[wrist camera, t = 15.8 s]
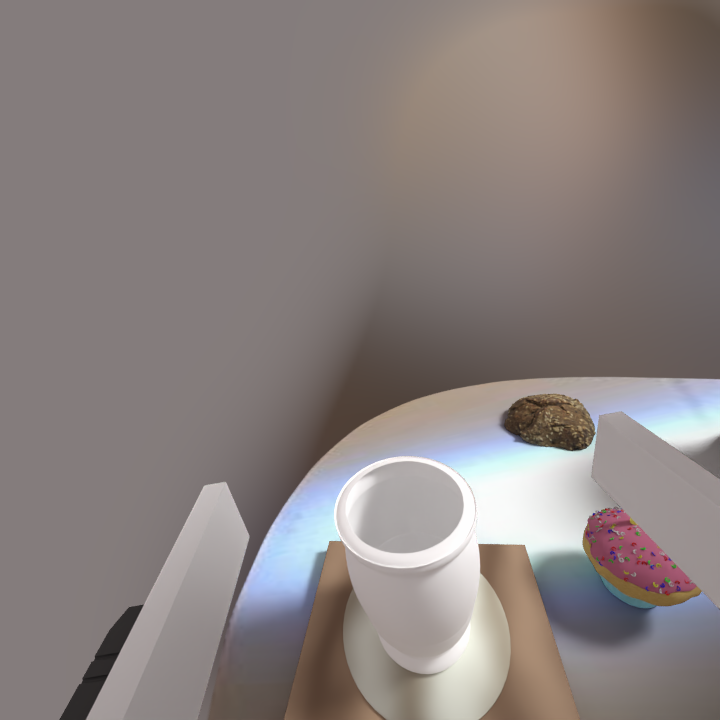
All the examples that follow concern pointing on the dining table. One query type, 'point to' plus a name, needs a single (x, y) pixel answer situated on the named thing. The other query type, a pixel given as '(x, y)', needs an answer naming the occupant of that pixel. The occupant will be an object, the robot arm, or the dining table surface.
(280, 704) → the dining table surface
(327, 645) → the board
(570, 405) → the bread roll
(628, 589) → the cupcake
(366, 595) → the jar
